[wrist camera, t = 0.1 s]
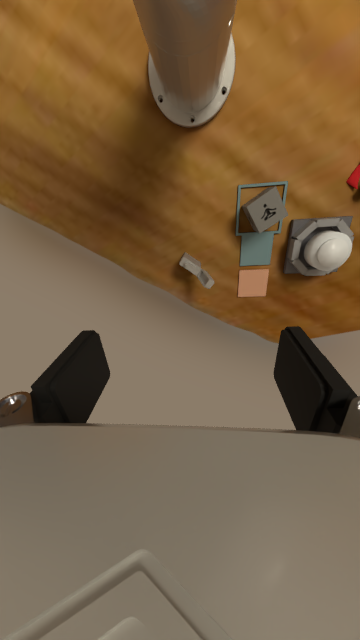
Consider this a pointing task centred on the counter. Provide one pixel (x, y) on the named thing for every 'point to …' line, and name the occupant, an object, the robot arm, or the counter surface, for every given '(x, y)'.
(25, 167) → the counter surface
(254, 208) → the dice cube
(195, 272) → the lighter
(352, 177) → the toy figure
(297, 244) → the dome base
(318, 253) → the dome
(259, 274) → the sorting mat
